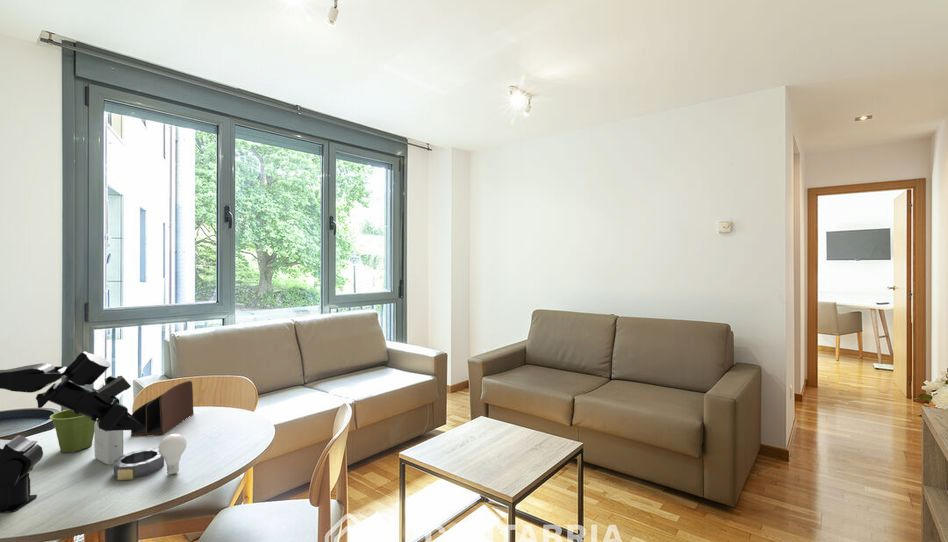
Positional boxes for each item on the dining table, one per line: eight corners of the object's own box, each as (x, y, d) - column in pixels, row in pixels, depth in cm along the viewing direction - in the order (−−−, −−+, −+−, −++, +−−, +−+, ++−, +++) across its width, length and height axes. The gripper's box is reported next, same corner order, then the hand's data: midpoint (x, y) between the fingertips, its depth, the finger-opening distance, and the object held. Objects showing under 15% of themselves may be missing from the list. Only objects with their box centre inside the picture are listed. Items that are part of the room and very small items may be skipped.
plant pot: (105, 447, 135) (104, 411, 135) (52, 460, 127) (51, 422, 126) (98, 436, 143) (98, 403, 143) (48, 448, 134) (47, 412, 134)
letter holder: (193, 414, 165) (193, 377, 164) (162, 435, 145) (162, 394, 144) (165, 415, 163) (165, 378, 163) (130, 437, 144) (129, 394, 143)
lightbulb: (161, 471, 121) (161, 432, 120) (188, 466, 123) (188, 428, 123) (156, 481, 115) (155, 440, 115) (184, 476, 118) (184, 436, 117)
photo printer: (126, 460, 127) (125, 418, 126) (108, 466, 123) (107, 423, 123) (110, 452, 132) (109, 412, 131) (92, 458, 128) (91, 416, 128)
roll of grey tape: (148, 479, 116) (147, 466, 116) (102, 482, 114) (101, 469, 114) (171, 459, 128) (171, 447, 128) (130, 461, 126) (129, 449, 126)
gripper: (109, 374, 106) (169, 403, 115) (98, 365, 119) (153, 391, 128) (71, 417, 101) (136, 444, 110) (64, 402, 114) (123, 427, 123)
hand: (138, 424), depth 118 cm, fingers open, 9 cm apart
